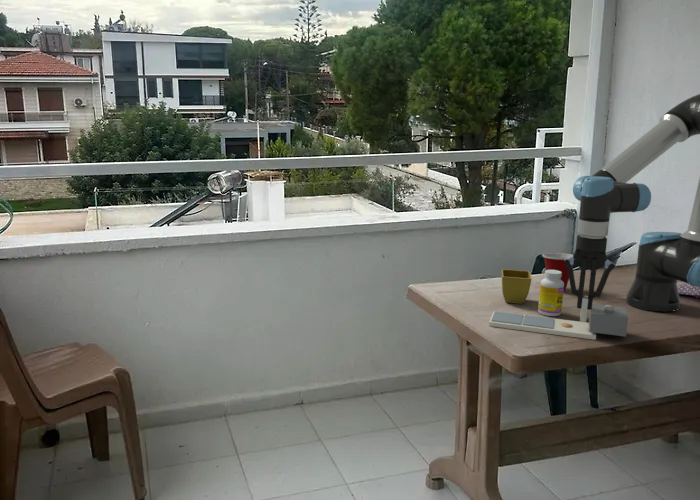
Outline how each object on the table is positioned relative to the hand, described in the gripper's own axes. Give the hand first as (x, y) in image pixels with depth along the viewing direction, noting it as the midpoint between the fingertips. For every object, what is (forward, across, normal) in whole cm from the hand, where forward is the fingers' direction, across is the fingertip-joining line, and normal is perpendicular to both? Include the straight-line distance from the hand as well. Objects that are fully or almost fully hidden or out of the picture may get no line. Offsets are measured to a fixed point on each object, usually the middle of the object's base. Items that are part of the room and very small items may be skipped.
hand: (582, 319), depth 176 cm
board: (+3, +10, 0) cm, 11 cm away
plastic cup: (+4, +8, -40) cm, 41 cm away
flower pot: (+4, +20, -21) cm, 29 cm away
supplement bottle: (+4, +9, -13) cm, 16 cm away
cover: (+2, -6, 0) cm, 6 cm away
